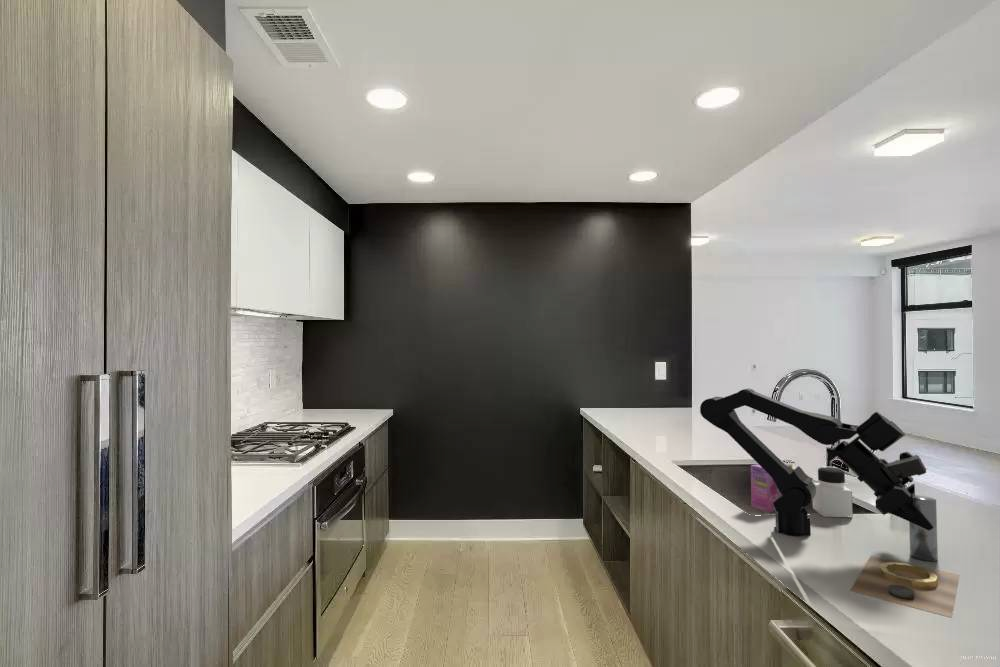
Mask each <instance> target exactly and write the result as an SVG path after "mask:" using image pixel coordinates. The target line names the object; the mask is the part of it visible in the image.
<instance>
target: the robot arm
mask: <svg viewBox="0 0 1000 667" xmlns="http://www.w3.org/2000/svg"><path fill="white" fill-rule="evenodd" d="M744 406H746V407H747V408H751V409H753V410H755V411H759V412H761V413H762V414H764V415H767V416H770V417H771V418H774V419H777V420H779V421H782V422H784V423H786V424H789V425H791V426H793V427H794V428H797V429H798V430H800V431H801V432H802V433H803V434H805V435H806V436H807V437H809V438H811V439H813V440H814V441H816V442H817V443H820V444H822V445H824V446H831V445H834V444H837V443H839V441H841V440H842V441H841V442H840V443H839V444H837V445H836V446H835V447H827V448H826V450H825V451H826V454H827V458H826V460H827V461H828V462H831V461H833V460H834V459H835V458H836V457H837V458H838V459H839V460H840V461H842V463H843V464H844V465H846V467H848V468H849V469H850V470H851V472H853V473H854V474H855V475H856V476H857V478H856V479H857V480H858V481H859V482H860V483H862V482H863V483H864V484H866V485H867V486H868V487H869V488H870V489H871V490H872V491H873V495H874V496H875V497H876V499H875V508H876V509H877V510H878V511H879V512H880V514H882V515H883V516H885V515H887V514H892V515H893V516H896V517H898V518H900V519H902V520H904V521H908V523H909V522H911V523H914V524H916V525H918V526H920V527H922V528H925V529H927V530H931V529H933V526H932V524H931V523H930V522H929V521H928V519H927V518H926V517H925V516H924V515H923V513H922V512H921V511H920V510H919V509H918V507H917V506H916V505H915V504H914V495H916V485H915V483H913V482H914V477H913V476H922V475H924V474H926V473H927V468H926V467H925V464H924V463H923V460H922V459H921V457H920V456H919V455H917V454H914V455H913V454H911V453H910V452H909V451H904V452H901V453H899V455H898V456H899V459H896V460H894V461H891V462H888V461H887V460H886V459H885V458H879V457H878V456H877V455H876V454H874V453H873V452H875V451H878V450H879V451H880V452H884V451H886V450H888V449H889V448H890V447H891V446H893V445H894V444H895V443H896V442H898V441H900V440H901V439H902V438H904V437H905V436H906V434H905V432H904V431H903V430H902V429H901V428H900V427H899V426H898V425H897V424H896V423H895V422H893V421H892V420H890V419H888V418H887V417H885V416H884V415H882V414H881V413H879V412H878V411H875V412H874V413H872V414H871V415H870V417H868V418H867V419H866V420H865V421H863V422H862V423H860V425H854V424H851V423H850V424H849V423H844V422H842V421H841V420H840V419H839V418H836V417H833V416H830V415H826V414H821V413H817V412H812V411H810V412H809V411H805V410H802V409H799V408H797V407H794V406H791V405H790V404H787V403H785V402H783V401H780V400H777V399H775V398H772V397H769V396H767V395H764V394H762V393H761V392H758V391H757V392H756V391H755V390H754V389H752V388H744V389H741V390H738V391H737V392H736V393H733V394H729V395H728V396H724V397H723V396H713V397H711V398H710V397H709V398H707V399H705V400H703V401H702V402H701V404H700V407H699V410H700V411H699V413H700V415H701V417H702V418H703V419H704V420H706V421H708V423H710V424H712V425H713V426H714V427H716V428H718V429H719V430H721V431H724V432H725V433H727V434H728V435H729V436H730V437H731V438H732V439H733V440H734V442H736V443H737V444H738V445H739V446H740V447H741V448H742V449H743V451H745V452H746V453H747V454H748V456H750V457H751V458H752V459H753V460H754V461H755V463H756V464H759V465H760V466H761V467H762V468H763V469H764V470H765V471H766V472H767V473H768V474H769V475H770V476H771V477H772V479H773V481H774V483H775V485H776V487H777V488H778V490H779V491H780V493H781V495H780V496H779V497H778V498H777V499H776V500H775V501H774V502H773V504H774V507H775V511H774V512H775V526H774V527H773V530H774V531H775V533H776V534H777V533H778V534H781V535H786V536H791V537H803V536H806V537H807V536H811V535H812V534H811V531H812V530H811V529H812V528H811V527H812V526H811V517H809V515H808V510H807V509H806V507H807V506H809V504H810V503H811V502H813V498H814V497H815V495H816V487H815V485H814V483H815V482H813V479H814V478H813V477H811V476H809V475H807V473H805V471H804V470H803V469H802V468H801V467H800V466H799V465H798V466H796V467H795V468H793V467H792V468H790V467H788V466H787V465H785V464H784V463H785V462H783V460H781V459H780V458H779V457H778V456H777V455H776V454H775V453H774V452H773V451H772V450H771V449H770V448H769V447H768V446H767V445H766V444H765V443H763V441H762V440H761V439H760V438H759V437H757V435H755V434H754V433H753V432H752V431H751V430H750V428H748V427H747V426H746V425H745V424H744V423H743V422H742V421H741V419H740V418H739V416H738V414H737V411H736V409H739V408H742V407H744ZM855 435H858V436H856V437H855V438H854V439H853V440H851V441H850V442H848V441H846V440H850V439H852V438H853V437H854V436H855ZM872 451H873V452H872ZM908 483H913V484H911V485H909V486H907V485H906V484H908Z"/></svg>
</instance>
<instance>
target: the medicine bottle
mask: <svg viewBox="0 0 1000 667" xmlns="http://www.w3.org/2000/svg"><path fill="white" fill-rule="evenodd" d="M845 473H846V472H845V471H844V470H843V469H842V468H839V467H836V466H835V467H834V466H821V467H819V468H818V469H817V479H818V480H817V481H818V482H813V483H814V485H815V487H816V495H815V497H814V498H813V500H812V509H813V510H814V511H816V512H817V513H819V515H821V516H822V517H825V518H841V517H848V516H849V517H850V516H851V517H853V516H854V513H853V512H854V510H853V506H854V505H853V491H852V490H851V489H849V488H848V487H846V486H845V485H846V474H845ZM853 518H854V517H853Z"/></svg>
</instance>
